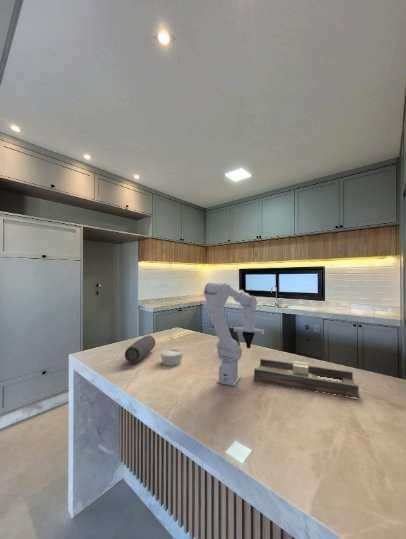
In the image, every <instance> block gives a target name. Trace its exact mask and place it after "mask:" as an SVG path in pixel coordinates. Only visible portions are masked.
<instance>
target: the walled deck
mask: <svg viewBox="0 0 406 539" xmlns="http://www.w3.org/2000/svg"><path fill="white" fill-rule="evenodd" d="M259 361H260V362H259V365H258V368H257V367H255V368H254V369H253V370H254V371H253V374H254V375H253V382H254V381H255V382H261V383H265V384H270V383H271V384H272V385H276V384H277V385H278V386H281V385H283V386H282V387H287V386H288V388H292V387H294V388H293V389H298V388H300V389H299V390H303V389H306V390H305V391H308V390H311V391H310V392H314V391H318V392H317V393H319V392H325V393H330V394H336V395H341V396H348V397H356V398H359V399H360V395H359V385H358V384H356V383H355V381H354V375H353V374H354V373H353V372H354V371H352V370H351V371H350V370H345V369H337V368H331V367H324V366H315V365H309V364H308V377H307V376H301V375H295V374H293V362H290V361H289V362H288V361H282V360H276V359H275V360H274V359H269V358H267V359H266V358H260V359H259ZM317 376H320V377H327V378H333V379H339V380H342V382H338V381H332V380H326V379H319V378H317ZM277 385H276V386H277ZM325 393H324V394H325ZM330 394H329V395H330ZM336 395H335V396H336ZM341 396H340V397H341Z"/></svg>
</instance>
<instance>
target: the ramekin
mask: <svg viewBox="0 0 406 539" xmlns="http://www.w3.org/2000/svg"><path fill="white" fill-rule="evenodd" d="M183 353H184V352H183V351H182V350H179V349H166V350H163V351H161V352H160V356H161V361H162V364H163V365H165V366H168V367H169V366H170V367H171V366H177V365H180V363H181V362H182V357H183Z"/></svg>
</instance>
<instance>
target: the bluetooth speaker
mask: <svg viewBox="0 0 406 539" xmlns="http://www.w3.org/2000/svg"><path fill="white" fill-rule="evenodd" d="M156 343H157V342H156V339H155V338H154V336H152V335H145V336H143V337H142V338H140V339H138V340H136V341H135V342H134V343H132V344H131V345H130V346H128V347H127V348H126V350H125V351H124V358H125V360H126V361H127V362H128V363H131V364H134V363H135V364H136V363H137V362H140V361H142V360H144V359H145V357H147V355H148V354H149V353H150V352H152V350H153V349H154V348H155V346H156Z"/></svg>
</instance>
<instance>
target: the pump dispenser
mask: <svg viewBox="0 0 406 539" xmlns="http://www.w3.org/2000/svg"><path fill="white" fill-rule="evenodd" d="M228 328H229V331H230V334H231V337H232V338H233V339H234V340H235V341H236V342H238V345H239V346H240V347H241V340H240V336H239V332H234V326H228Z"/></svg>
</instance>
